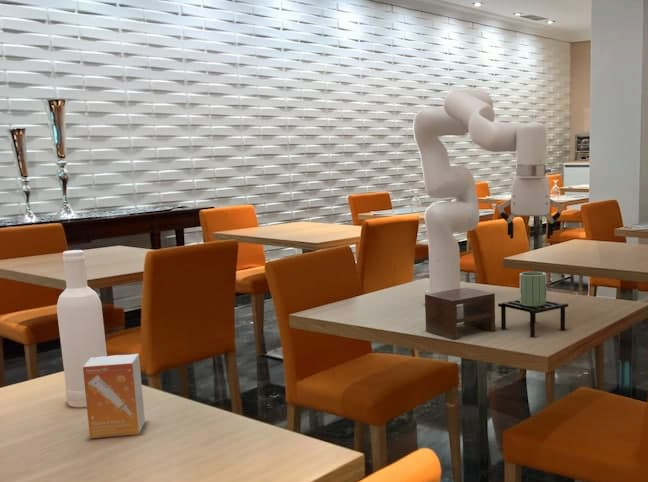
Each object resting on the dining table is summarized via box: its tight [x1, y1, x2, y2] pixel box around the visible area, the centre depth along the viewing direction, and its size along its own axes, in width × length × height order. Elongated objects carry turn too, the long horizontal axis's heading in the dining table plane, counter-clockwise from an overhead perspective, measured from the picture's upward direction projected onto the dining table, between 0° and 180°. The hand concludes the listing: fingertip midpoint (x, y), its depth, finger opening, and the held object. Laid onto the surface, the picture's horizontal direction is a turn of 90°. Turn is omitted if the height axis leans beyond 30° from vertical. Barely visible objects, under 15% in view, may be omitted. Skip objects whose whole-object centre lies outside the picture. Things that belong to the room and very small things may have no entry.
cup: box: [519, 271, 547, 306], centre depth 197 cm, size 7×7×8 cm
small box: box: [83, 353, 146, 439], centre depth 131 cm, size 8×6×13 cm
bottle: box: [56, 249, 108, 408], centre depth 146 cm, size 8×8×30 cm
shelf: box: [424, 287, 496, 340], centre depth 198 cm, size 12×14×10 cm
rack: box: [497, 299, 569, 338], centre depth 198 cm, size 13×13×7 cm
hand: (530, 238), depth 196 cm, fingers open, 9 cm apart
